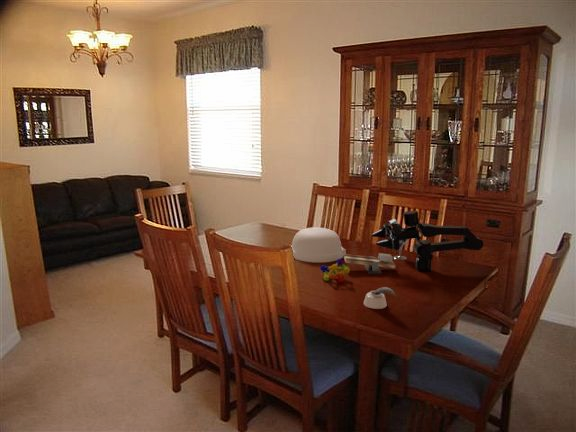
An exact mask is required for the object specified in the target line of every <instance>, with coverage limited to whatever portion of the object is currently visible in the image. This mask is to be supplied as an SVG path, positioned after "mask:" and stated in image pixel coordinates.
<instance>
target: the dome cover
mask: <svg viewBox="0 0 576 432" xmlns="http://www.w3.org/2000/svg"><path fill="white" fill-rule="evenodd" d="M290 246H291V247H292V250H293V256H294V258H295V259H294V258H293V259H294V260H297V261H301V262H307V263H330V262H335V261H336V262H337V259H341V260H342V259H344V254H347V252H346V248H344V247H343V246H342V243H341V239H340V237H339V235H338V234H337V233H336V232H335V231H334V230H331V229H329V228H325V227H316V226H315V227H313V226H312V227H306V228H303V229H301V230H298V231H297V232H296V234H295V235H294V236H293V239H292V242H291V245H290Z"/></svg>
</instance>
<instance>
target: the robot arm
mask: <svg viewBox="0 0 576 432" xmlns="http://www.w3.org/2000/svg"><path fill="white" fill-rule="evenodd" d="M402 215H403V222H404V225H405V226H406V227H403V226H402V225H401V223H398V221H397V220H396V217H394V218H392V219H390V220H388V222H386V223H384V224H383V225H382V227H381V228H380V229H379V230H377V231H376V232H373V233H372V234H371V237H373V238H384V240H383V239H382V240H380V241H377V242H375V245H376V246H379V247H384V248H385V249H386V248H387V249H390V250H393V251H399V249H400V243H399V241H402V240H403V242H406V240H412V239H415V241H416V242H415V243H414V244H413V251H414V252H415V253H416V255H417V256H416V259H415V264H414V265H415V269H416V270H417V271H418V272H432V271H433V270H432V261H433V258H434V255H433V253H438V252H447V251H454V250H468V251H469V250H470V251H481V250H482V249H483V247H484V241H483V239H481V238H480V237H478V236H476V235H475V234H474V233H473V232H472V231H471V230H470V229H469V228H468V227H467V226H465V225H461V226H460V225H437V224H436V225H435V224H431V223H425V222H424V223H422V222H421V221H419V212H418V210H415V211H414V210H413V211H412V210H411V211H410V210H408V211H404V212H403V213H402ZM420 235H422V236H423V237H425V238H434V237H436V236H443V235H444V236H462V237H463V238H462V239H458V240H457V239H454V240H447V241H438V242H431V241H430V240H429V239H423V240H421V239H422V237H421V236H420ZM386 238H387V239H386ZM406 243H407V242H406Z"/></svg>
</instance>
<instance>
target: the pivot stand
mask: <svg viewBox="0 0 576 432" xmlns="http://www.w3.org/2000/svg"><path fill="white" fill-rule="evenodd" d="M368 257H375V256H374V255H369V256H368ZM364 267H365V269H366V271H367V273H368V274H369V275H370V274H371V275H377V274H378V275H379V274H382V270H381V268H380V267H379V266H378V262H372V266H370V265H364Z"/></svg>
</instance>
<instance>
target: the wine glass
mask: <svg viewBox="0 0 576 432" xmlns="http://www.w3.org/2000/svg"><path fill="white" fill-rule="evenodd" d="M408 240H409V239H408ZM408 240H406V242H403V240H402V241H399V243H400V249H399V250H398V251H399V254H398V255H394V256H392V257H393V259H394V260H397V261H405V260H407V257H406V256H403V255H402V249H403V246H405V244H407V242H408Z"/></svg>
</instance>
